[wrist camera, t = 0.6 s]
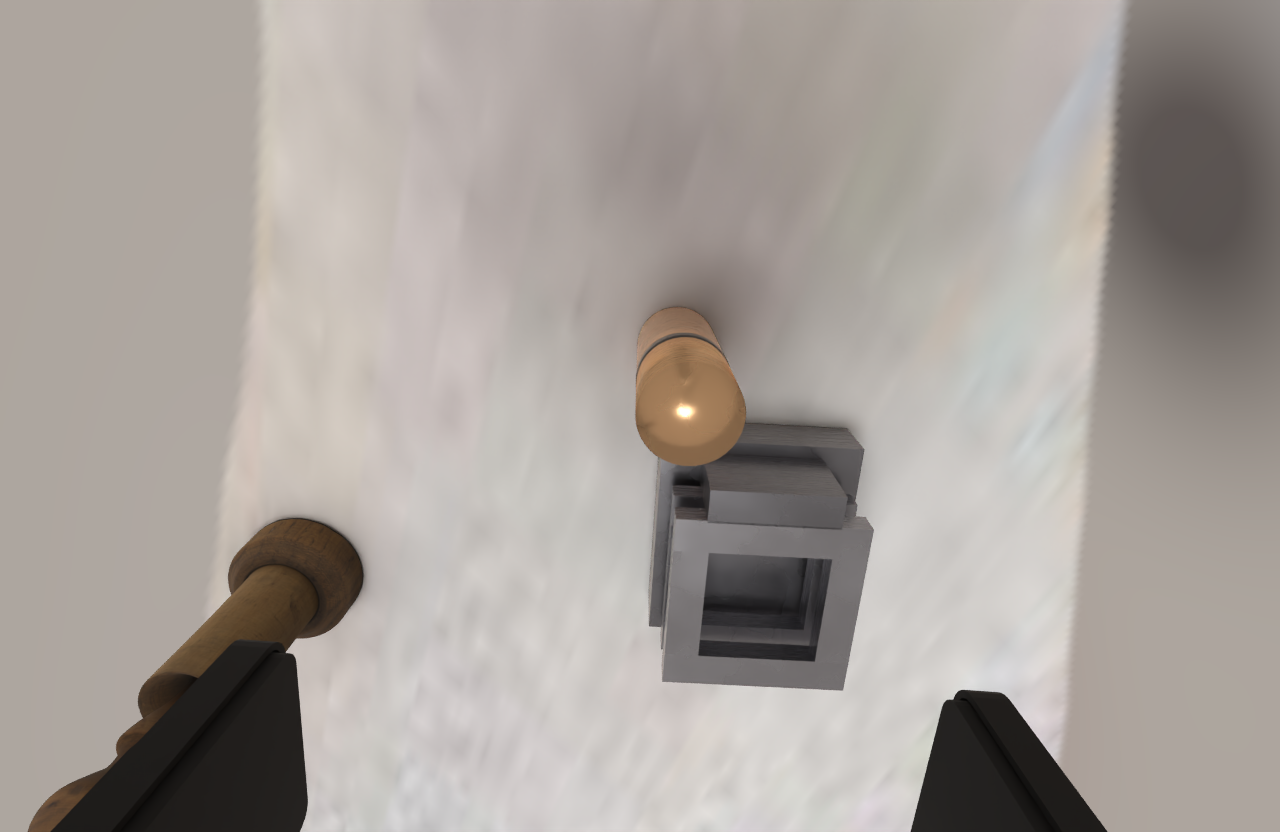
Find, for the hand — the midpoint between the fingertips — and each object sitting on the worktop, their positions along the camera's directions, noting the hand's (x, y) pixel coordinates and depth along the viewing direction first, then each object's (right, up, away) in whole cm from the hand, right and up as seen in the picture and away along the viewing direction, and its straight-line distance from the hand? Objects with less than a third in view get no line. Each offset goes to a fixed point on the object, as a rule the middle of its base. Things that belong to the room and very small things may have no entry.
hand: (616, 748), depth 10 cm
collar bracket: (+6, -1, +28) cm, 29 cm away
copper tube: (+2, +8, +25) cm, 27 cm away
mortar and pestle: (-19, -4, +30) cm, 36 cm away
